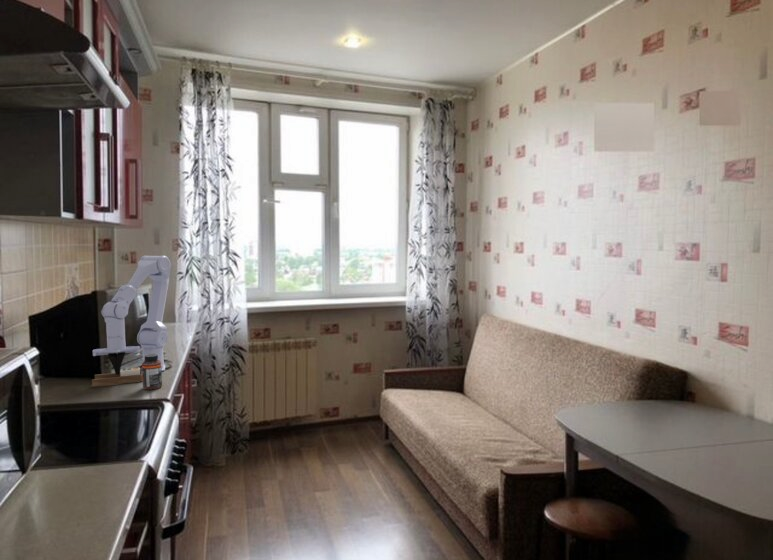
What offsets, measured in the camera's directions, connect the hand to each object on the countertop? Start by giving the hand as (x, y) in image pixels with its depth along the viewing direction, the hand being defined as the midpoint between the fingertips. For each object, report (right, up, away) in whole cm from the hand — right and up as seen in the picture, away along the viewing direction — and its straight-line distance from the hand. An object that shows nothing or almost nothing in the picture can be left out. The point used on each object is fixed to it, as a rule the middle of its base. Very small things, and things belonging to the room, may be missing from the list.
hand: (117, 373), depth 179 cm
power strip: (+4, -3, +2) cm, 5 cm away
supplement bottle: (+16, -4, -7) cm, 17 cm away
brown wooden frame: (0, -3, 0) cm, 3 cm away
